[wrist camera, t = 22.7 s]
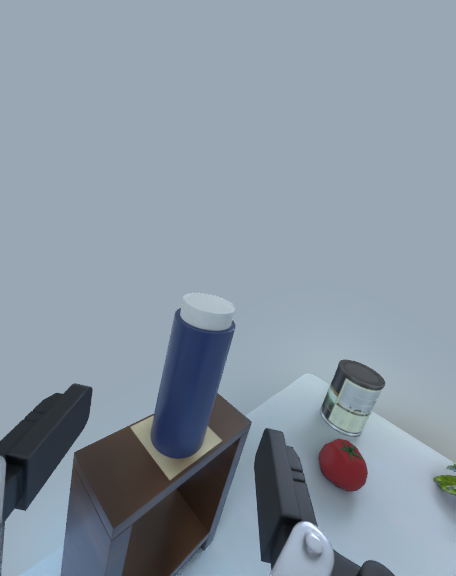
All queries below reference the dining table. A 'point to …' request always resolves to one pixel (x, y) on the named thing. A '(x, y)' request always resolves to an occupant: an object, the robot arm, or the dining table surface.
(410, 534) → the dining table surface
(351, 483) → the tomato
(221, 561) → the dining table surface
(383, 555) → the dining table surface
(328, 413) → the coffee can
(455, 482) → the purple flowering plant
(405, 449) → the dining table surface
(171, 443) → the water bottle
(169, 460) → the shoe shelf
